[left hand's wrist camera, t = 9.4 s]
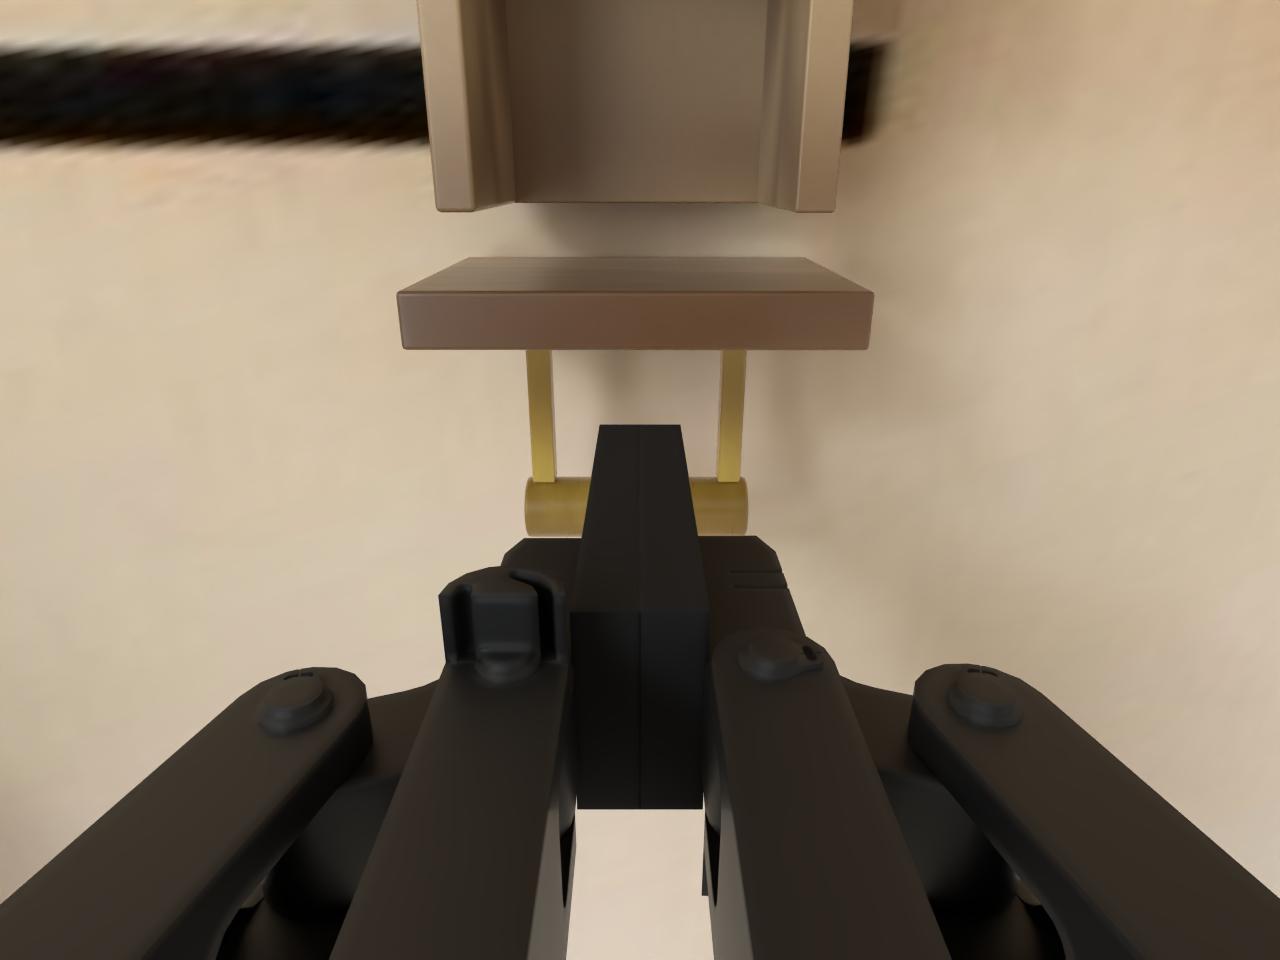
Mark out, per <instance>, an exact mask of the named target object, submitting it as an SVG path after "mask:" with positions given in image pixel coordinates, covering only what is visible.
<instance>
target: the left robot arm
mask: <svg viewBox="0 0 1280 960" xmlns="http://www.w3.org/2000/svg"><path fill="white" fill-rule="evenodd" d="M438 596H439V605H440V614H441V623H442V632H443V641H444V650H445V659H446V663H445V666H444V668H443V671H442V674H441V676H440V679H438V680H436V681H434V682H431V683H429V684H427V685H425V686H421V687H418V688H414V689H411V690H407V691H403V692H398V693H393V694H389V695H384V696H379V697H374V698H369V699H367V693H366V687H365V684H364V683H363V682H362V681H361V680H360V679H359V678H358V677H357V676H356V675H355V674H354V673H351V672H348V671H345V670H342V669H339V668H326V667H311V668H304V669H300V670H298V669H297V670H293V671H289V672H285V673H283V674H281V675H278V676H276V677H273V678H271V679H268V680H266V681H263V682H261V683H259V684H258V685H256V686H255V687H253V688H252V689H250V690H249V691H247V692H246V693H244V694H243V695H241V696H240V697H238V698H237V699H236V700H235V701H234V702H233V703H232V704H230V705H229V706H228V707H227V708H226V709H225V710H224V711H222V712H221V713H220V714H219V715H218V716H217V717H216V718H214V719H213V720H212V721H211V722H210V723H209V724H207V725H206V726H205V727H204V728H203V729H202V730H201V731H199V732H198V733H197V734H196V735H195V736H194V737H193V738H191V739H190V740H189V741H188V742H187V743H186V744H184V745H183V746H182V747H181V748H180V749H179V750H178V751H176V752H175V753H174V754H173V755H172V756H171V757H170V758H168V759H167V760H166V761H165V762H164V763H163V764H161V765H160V766H159V767H158V768H157V769H156V770H155V771H153V772H152V773H151V774H150V775H149V776H148V777H147V778H145V779H144V780H143V781H142V782H141V783H140V784H138V785H137V786H136V787H135V788H134V789H133V790H132V791H130V792H129V793H128V794H127V795H126V796H125V797H124V798H122V799H121V800H120V801H119V802H118V803H117V804H116V805H114V806H113V807H112V808H111V809H110V810H109V811H107V812H106V813H105V814H104V815H103V816H102V817H101V818H99V819H98V820H97V821H96V822H95V823H94V824H93V825H91V826H90V827H89V828H88V829H87V830H86V831H84V832H83V833H82V834H81V835H80V836H79V837H78V838H76V839H75V840H74V841H73V842H72V843H71V844H70V845H68V846H67V847H66V848H65V849H64V850H63V851H61V852H60V853H59V854H58V855H57V856H56V857H55V858H53V859H52V860H51V861H50V862H49V863H48V864H47V865H45V866H44V867H43V868H42V869H41V870H40V871H38V872H37V873H36V874H35V875H34V876H33V877H32V878H30V879H29V880H28V881H27V882H26V883H25V884H24V885H22V886H21V887H20V888H19V889H18V890H17V891H16V892H14V893H13V894H12V895H11V896H10V897H9V898H7V899H6V900H5V901H4V902H3V903H2V904H1V905H0V960H566V953H567V942H568V931H569V920H570V909H571V898H572V887H573V876H574V865H575V854H576V829H575V806H576V796H577V809H703V792H704V802H705V829H704V853H703V878H702V896H708V897H709V908H710V919H711V930H712V941H713V951H714V960H1280V898H1278V897H1277V896H1276V895H1275V894H1274V893H1273V892H1271V891H1270V890H1269V889H1268V888H1267V887H1266V886H1264V885H1263V884H1262V883H1261V882H1260V881H1259V880H1257V879H1256V878H1255V877H1254V876H1253V875H1252V874H1251V873H1249V872H1248V871H1247V870H1246V869H1245V868H1244V867H1242V866H1241V865H1240V864H1239V863H1238V862H1237V861H1235V860H1234V859H1233V858H1232V857H1231V856H1230V855H1229V854H1227V853H1226V852H1225V851H1224V850H1223V849H1222V848H1220V847H1219V846H1218V845H1217V844H1216V843H1215V842H1213V841H1212V840H1211V839H1210V838H1209V837H1208V836H1206V835H1205V834H1204V833H1203V832H1202V831H1201V830H1200V829H1198V828H1197V827H1196V826H1195V825H1194V824H1193V823H1191V822H1190V821H1189V820H1188V819H1187V818H1186V817H1184V816H1183V815H1182V814H1181V813H1180V812H1179V811H1178V810H1176V809H1175V808H1174V807H1173V806H1172V805H1171V804H1169V803H1168V802H1167V801H1166V800H1165V799H1164V798H1162V797H1161V796H1160V795H1159V794H1158V793H1157V792H1155V791H1154V790H1153V789H1152V788H1151V787H1150V786H1149V785H1147V784H1146V783H1145V782H1144V781H1143V780H1142V779H1140V778H1139V777H1138V776H1137V775H1136V774H1135V773H1133V772H1132V771H1131V770H1130V769H1129V768H1128V767H1127V766H1125V765H1124V764H1123V763H1122V762H1121V761H1120V760H1118V759H1117V758H1116V757H1115V756H1114V755H1113V754H1111V753H1110V752H1109V751H1108V750H1107V749H1106V748H1104V747H1103V746H1102V745H1101V744H1100V743H1099V742H1098V741H1096V740H1095V739H1094V738H1093V737H1092V736H1091V735H1089V734H1088V733H1087V732H1086V731H1085V730H1084V729H1082V728H1081V727H1080V726H1079V725H1078V724H1077V723H1076V722H1074V721H1073V720H1072V719H1071V718H1070V717H1069V716H1067V715H1066V714H1065V713H1064V712H1063V711H1062V710H1060V709H1059V708H1058V707H1057V706H1056V705H1055V704H1053V703H1052V702H1051V701H1050V700H1049V699H1048V698H1047V697H1045V696H1044V695H1043V694H1042V693H1041V692H1039V691H1038V690H1036V689H1035V688H1033V687H1031V686H1030V685H1028V684H1027V683H1025V682H1024V681H1022V680H1021V679H1019V678H1017V677H1014V676H1012V675H1009V674H1006V673H1004V672H1001V671H999V670H997V669H994V668H990V667H986V666H979V665H972V664H944V665H941V666H938V667H935V668H932V669H929V670H926V671H925V672H924V673H923V674H922V675H921V676H920V677H919V678H918V679H917V680H916V681H915V687H914V693H913V695H908V694H903V693H898V692H893V691H888V690H883V689H878V688H874V687H870V686H867V685H863V684H860V683H856V682H854V681H852V680H849V679H847V678H845V677H842V676H840V675H839V672H838V670H837V667H836V665H835V662H834V661H833V659H832V658H831V656H830V655H829V654H828V652H827V651H826V650H825V648H824V647H822V646H820V645H819V644H817V643H816V642H814V641H813V640H811V639H810V638H808V637H806V635H805V632H804V630H803V627H802V624H801V621H800V618H799V616H798V613H797V610H796V607H795V605H794V602H793V599H792V596H791V593H790V591H789V589H787V582H786V580H785V577H784V574H783V573H782V568H781V566H780V563H779V560H778V557H777V555H776V552H775V551H774V550H773V549H772V548H771V547H769V546H768V545H767V544H766V543H764V542H763V541H762V540H761V539H759V538H758V537H757V536H698V532H697V526H696V519H695V513H694V507H693V501H692V495H691V488H690V482H689V476H688V470H687V464H686V457H685V451H684V445H683V439H682V433H681V426H680V425H600V426H599V433H598V439H597V445H596V451H595V457H594V464H593V470H592V476H591V482H590V488H589V495H588V501H587V507H586V513H585V519H584V526H583V532H582V538H524V539H523V540H521V541H520V542H519V543H518V544H516V545H515V546H514V547H513V548H512V549H510V550H509V551H508V552H507V553H505V555H504V558H503V560H502V563H501V566H497V567H488V568H484V569H481V570H477V571H474V572H470V573H467V574H465V575H463V576H461V577H459V578H458V579H456V580H454V581H452V582H450V583H449V584H448V585H447V586H446V587H445V588H444V590H443V591H442V592H441V593H440V594H439V595H438Z"/></svg>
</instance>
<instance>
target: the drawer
mask: <svg viewBox="0 0 1280 960" xmlns="http://www.w3.org/2000/svg"><path fill="white" fill-rule="evenodd" d="M853 5H854V0H417V10H418V21H419V32H420V43H421V53H422V64H423V75H424V86H425V96H426V107H427V118H428V129H429V139H430V150H431V161H432V172H433V182H434V193H435V204H436V209H437V211H439V212H475V211H479V210H484V209H488V208H493V207H497V206H502V205H506V204H510V203H761V204H765V205H769V206H773V207H777V208H781V209H785V210H789V211H793V212H797V213H832V212H834V210H835V204H836V193H837V182H838V171H839V160H840V149H841V138H842V127H843V116H844V104H845V93H846V82H847V71H848V60H849V49H850V38H851V27H852V16H853ZM396 297H397V306H398V314H399V323H400V332H401V340H402V346H403V349H406V350H526V361H527V379H528V397H529V415H530V434H531V452H532V470H533V477H530V478H528V481H527V484H526V490H525V525H526V530H527V533H528V535H529V536H531V537H582V532H583V526H584V519H585V513H586V507H587V501H588V495H589V488H590V482H591V477H556V476H557V460H556V436H555V413H554V389H553V365H552V350H721V363H720V388H719V413H718V437H717V462H716V476H717V477H689V482H690V488H691V495H692V501H693V507H694V513H695V519H696V526H697V532H698V536H744V535H745V533H746V530H747V523H748V492H747V485H746V481H745V479H744V478H743V477H740V466H741V447H742V428H743V409H744V390H745V371H746V352H747V350H866V349H868V347H869V339H870V330H871V322H872V313H873V304H874V293H873V292H871V291H869V290H867V289H866V288H864V287H862V286H860V285H858V284H856V283H854V282H852V281H850V280H848V279H846V278H844V277H842V276H840V275H838V274H836V273H834V272H832V271H830V270H828V269H826V268H824V267H822V266H820V265H818V264H816V263H814V262H812V261H810V260H808V259H807V258H728V257H469V258H467V259H464V260H462V261H460V262H458V263H456V264H454V265H452V266H450V267H448V268H446V269H444V270H442V271H440V272H438V273H436V274H434V275H432V276H429V277H427V278H425V279H423V280H421V281H419V282H417V283H415V284H413V285H411V286H409V287H407V288H405V289H403V290H401V291H399V292H397V295H396Z"/></svg>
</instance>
